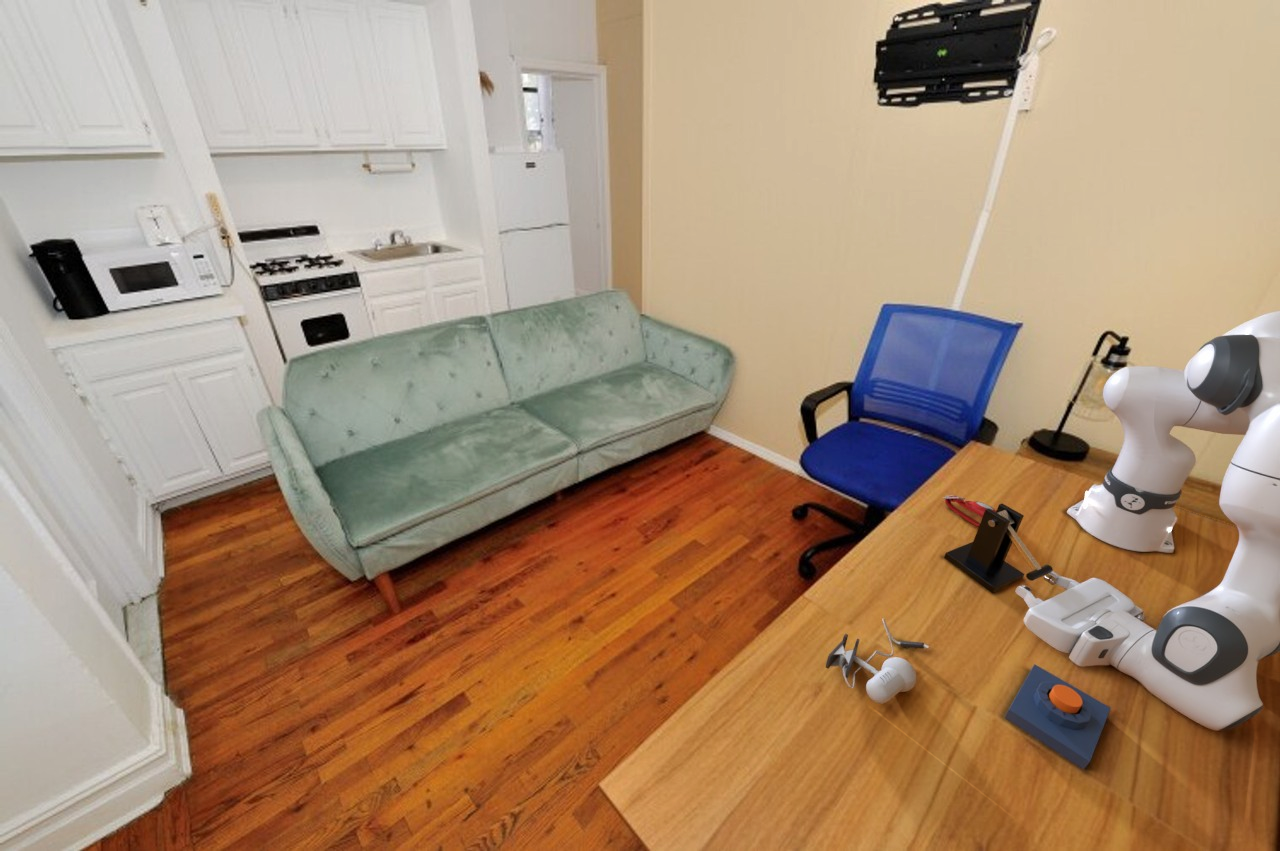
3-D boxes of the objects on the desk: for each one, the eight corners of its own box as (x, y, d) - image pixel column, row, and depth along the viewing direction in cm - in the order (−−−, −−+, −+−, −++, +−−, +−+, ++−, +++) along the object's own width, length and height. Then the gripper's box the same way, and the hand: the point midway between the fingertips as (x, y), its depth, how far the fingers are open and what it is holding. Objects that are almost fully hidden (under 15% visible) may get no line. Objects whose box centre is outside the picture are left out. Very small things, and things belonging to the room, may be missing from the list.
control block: (1029, 672, 85) (1038, 656, 83) (1105, 716, 78) (1115, 700, 76) (1004, 717, 78) (1012, 701, 76) (1083, 770, 72) (1095, 754, 70)
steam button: (1052, 687, 79) (1056, 680, 78) (1081, 703, 76) (1085, 696, 76) (1045, 701, 77) (1049, 694, 76) (1074, 719, 74) (1079, 711, 74)
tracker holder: (993, 503, 124) (1015, 520, 115) (985, 518, 125) (1006, 536, 116) (944, 488, 125) (961, 503, 116) (936, 503, 127) (953, 520, 117)
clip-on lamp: (871, 634, 96) (817, 670, 85) (879, 605, 94) (824, 639, 83) (936, 674, 87) (884, 720, 76) (945, 643, 85) (894, 686, 74)
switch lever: (1045, 573, 97) (1056, 570, 95) (1027, 582, 95) (1038, 579, 93) (1001, 511, 103) (1011, 507, 101) (983, 519, 101) (992, 514, 99)
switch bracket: (1022, 579, 103) (1048, 522, 96) (992, 593, 100) (1017, 535, 93) (972, 546, 112) (993, 492, 105) (943, 557, 109) (963, 502, 102)
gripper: (1159, 603, 88) (1073, 553, 99) (1087, 644, 81) (1003, 585, 92) (1143, 628, 91) (1061, 577, 102) (1072, 669, 84) (992, 609, 95)
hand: (1032, 581), depth 97 cm, fingers open, 7 cm apart
